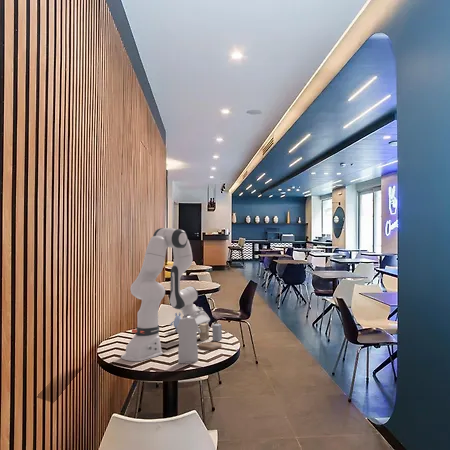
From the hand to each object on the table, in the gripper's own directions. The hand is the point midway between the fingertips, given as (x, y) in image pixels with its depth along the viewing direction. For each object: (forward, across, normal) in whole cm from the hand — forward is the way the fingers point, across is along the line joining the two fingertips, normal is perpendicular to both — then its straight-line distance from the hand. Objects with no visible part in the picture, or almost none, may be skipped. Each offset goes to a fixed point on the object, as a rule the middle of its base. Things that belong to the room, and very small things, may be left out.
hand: (205, 330), depth 233 cm
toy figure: (-16, +9, +23) cm, 29 cm away
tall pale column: (+15, -39, -8) cm, 43 cm away
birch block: (+3, 0, +4) cm, 5 cm away
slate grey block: (+9, +2, -2) cm, 9 cm away
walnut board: (+12, -12, -4) cm, 17 cm away
